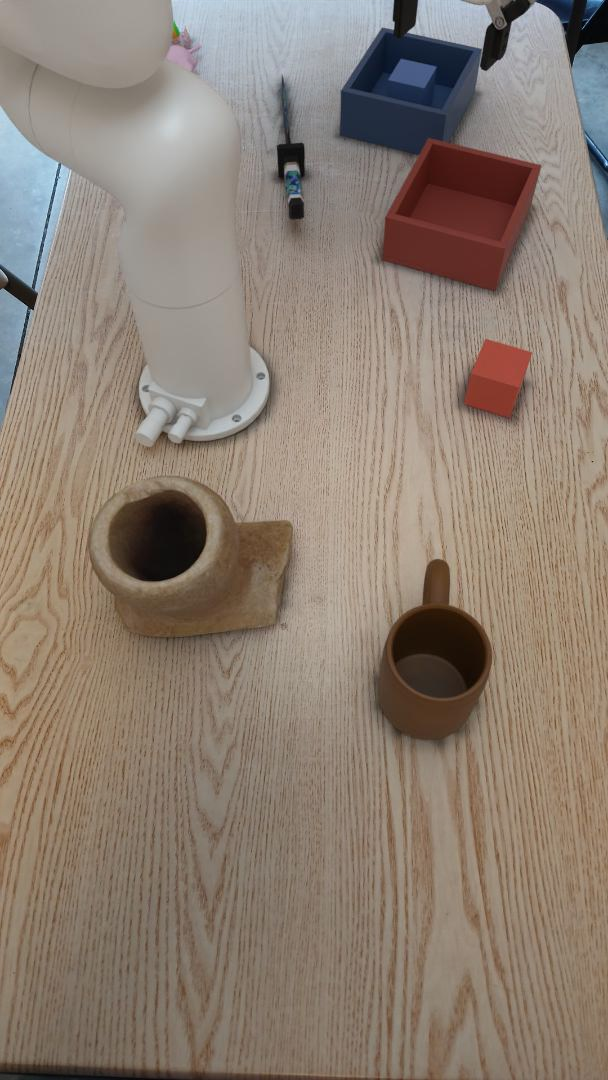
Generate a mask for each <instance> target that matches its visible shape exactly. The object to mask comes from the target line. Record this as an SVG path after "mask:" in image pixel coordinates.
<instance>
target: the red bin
mask: <svg viewBox="0 0 608 1080" xmlns="http://www.w3.org/2000/svg"><path fill="white" fill-rule="evenodd" d="M541 169H542V164H538V163H534V162H529V161H526V160H522V159H518V158H513V157H510V156H506V155H501V154H497V153H492V152H489V151H484V150H480V149H476V148H473V147H468V146H464V145H460V144H455V143H452V142H449V143H448V142H444V141H440V140H435V139H431V138H428V139H427V141H426V143H425V145H424V147H423V149H422V151H421V152H420V154H418V156H417V158H416V160H415V162H414V163H413V165H412V167H411V169H410V171H409V173H408V174H407V176H406V178H405V179H404V182H403V184H402V186H401V187H400V189H399V191H398V192H397V194H396V197H395V198H394V200H393V202H392V204H391V206H390V208H389V209H388V211H387V213H386V215H385V217H384V229H383V243H382V253H381V260H382V261H386V262H389V263H392V264H396V265H400V266H404V267H407V268H410V269H414V270H418V271H421V272H425V273H429V274H431V275H435V276H440V277H443V278H447V279H451V280H454V281H458V282H461V283H464V284H468V285H471V286H476V287H478V288H482V289H486V290H490V291H494V292H496V290H497V288H498V286H499V283H500V281H501V279H502V276H503V274H504V272H505V270H506V268H507V265H508V262H509V260H510V258H511V256H512V252H513V251H514V248H515V246H516V244H517V241H518V239H519V237H520V235H521V231H522V230H523V227H524V225H525V222H526V220H527V217H528V216H529V213H530V211H531V208H532V203H533V200H534V196H535V192H536V188H537V185H538V181H539V177H540V173H541Z"/></svg>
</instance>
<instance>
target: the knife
mask: <svg viewBox="0 0 608 1080" xmlns="http://www.w3.org/2000/svg"><path fill="white" fill-rule="evenodd" d="M281 93H282V106H283V107H282V109H283V121H284V133H285V143H279V144H277V145H276V156H277V157H276V158H277V159H276V160H277V176H278V178H280V179H284V185H285V186H284V189H285V195H286V203H287V208H286V210H287V216H288V219H290V220H291V221H299V220H303V219H304V218H305V200H304V194H303V186H302V178H303V177H305V175H306V164H305V160H306V159H305V157H306V155H305V153H306V152H305V151H306V149H305V143H304V142H292V141H291V129H290V123H289V115H288V104H287V97H286V96H287V95H286V86H285V78H284V75H283V74H281Z"/></svg>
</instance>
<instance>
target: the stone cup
mask: <svg viewBox="0 0 608 1080" xmlns="http://www.w3.org/2000/svg"><path fill="white" fill-rule="evenodd" d="M293 532H294V528H293V524H292V522H291V521H290V520H286V519H285V520H284V519H282V520H263V521H261V520H260V521H247V522H236V520H235V518H234V516H233V514H232V511H231V509H230V507H229V505H228V504H227V503H226V501H225V500H224V499H223V498H222V497H221V495H220V494H218V493H217V492H216V491H215V490H213V489H212V488H211V487H209V486H208V485H206V484H205V483H202V482H200V481H198V480H195V479H193V478H190V477H186V476H181V475H157V476H152V477H147V478H145V479H141V480H138V481H136V482H133V483H131V484H129V485H127V486H125V487H123V488H122V489H121V490H119V491H118V492H116V493H114V494H112V496H111V497H110V498H108V499H107V500H106V501H105V503H103V505H102V506H101V508H100V509H99V510H98V511H97V513H96V515H95V517H94V519H93V521H92V523H91V525H90V529H89V534H88V542H87V548H88V556H89V561H90V564H91V567H92V570H93V571H94V573H95V576H96V577H97V579H98V580H99V582H100V583H101V585H102V586H103V587H104V588H105V589H106V590H107V591H108V592H109V593H110V594H112V596H113V600H114V608H115V612H116V614H117V616H118V617H119V618H120V621H121V624H122V625H123V627H124V628H125V629H126V630H127V631H129V632H130V633H134V634H136V635H140V636H146V637H154V638H156V637H157V638H181V637H191V636H192V637H193V636H199V635H207V634H217V633H225V632H232V631H240V630H246V629H254V628H262V627H266V626H270V625H275V624H276V623H277V618H278V609H279V607H280V605H281V595H282V590H283V587H284V578H285V574H286V572H287V569H288V567H289V564H290V562H291V551H292V542H293V541H292V540H293Z"/></svg>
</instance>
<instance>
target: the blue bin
mask: <svg viewBox="0 0 608 1080" xmlns="http://www.w3.org/2000/svg"><path fill="white" fill-rule="evenodd" d="M393 34H394V29H391V28H389V27H388V28H387V27H381V28H380V30H379V31H378V33H377V34H376V36H375V38H374V39H373V41H372V42H371V44H370V45H369V47H368V48H367V49H366V51H365V52H364V54H363V56H362V57H361V59H360V61H358V63H357V65H356V66H355V68H354V70H353V71H352V73H351V74H350V76H349V77H348V79H347V80H346V82H345V83H344V85H343V87H342V88H341V90H340V115H339V116H340V117H339V119H340V120H339V126H340V127H339V136H342V137H346V138H350V139H354V140H358V141H361V142H367V143H369V144H374V145H378V146H383V147H387V148H391V149H395V150H398V151H403V152H407V153H411V154H416V155H419V154H420V152H421V151H422V149H423V147H424V145H425V143H426V141H427V139H428V138H431V139H435V140H440V141H444V142H448V143H451V142H450V141H451V140H452V138H453V136H454V134H455V132H456V130H457V128H458V126H459V125H460V123H461V121H462V119H463V117H464V115H465V113H466V112H467V109H468V107H469V106H470V103H471V102H472V99H473V98H474V95H475V93H476V88H477V81H478V75H479V69H480V62H481V56H482V51H483V48H481V47H475V46H472V45H467V44H461V43H456V42H453V41H448V40H443V39H438V38H434V37H429V36H424V35H420V34H415V33H410V32H407V33H406V34H405V35H404V36H403V37H401V38H396V37H394V36H393ZM400 59H404V60H409V61H413V62H418V63H422V64H427V65H431V66H436V67H437V69H436V78H435V86H434V94H433V102H432V104H431V106H430V107H428V106H423V105H419V104H415V103H411V102H406V101H402V100H398V99H394V98H389V97H387V87H388V79H389V77H390V76H391V74H392V72H393V71H394V69H395V68H396V66H397V64H398V63H399V61H400Z"/></svg>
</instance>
